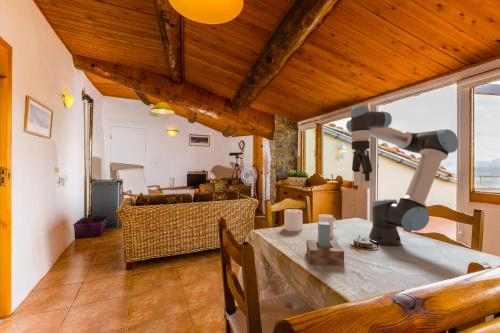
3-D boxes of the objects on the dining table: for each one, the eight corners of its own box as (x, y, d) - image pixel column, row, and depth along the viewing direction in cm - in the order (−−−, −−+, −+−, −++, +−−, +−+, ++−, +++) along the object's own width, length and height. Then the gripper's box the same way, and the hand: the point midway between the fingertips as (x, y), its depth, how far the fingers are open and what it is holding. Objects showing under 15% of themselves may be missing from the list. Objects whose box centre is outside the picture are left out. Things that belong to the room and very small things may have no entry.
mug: (333, 232, 147) (333, 213, 147) (341, 236, 139) (341, 216, 139) (315, 234, 144) (315, 214, 144) (323, 238, 136) (323, 217, 136)
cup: (284, 230, 152) (284, 212, 152) (284, 226, 163) (284, 208, 163) (303, 231, 150) (302, 212, 150) (302, 226, 161) (301, 209, 161)
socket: (336, 253, 114) (336, 240, 114) (344, 265, 100) (344, 251, 100) (306, 251, 116) (306, 239, 116) (310, 264, 102) (310, 250, 102)
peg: (328, 256, 110) (328, 222, 110) (330, 260, 105) (330, 224, 105) (318, 256, 110) (318, 221, 110) (319, 260, 106) (319, 224, 106)
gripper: (344, 143, 122) (345, 184, 122) (360, 138, 97) (362, 190, 97) (360, 142, 121) (361, 183, 121) (380, 137, 96) (381, 189, 96)
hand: (361, 186), depth 109 cm, fingers open, 13 cm apart
